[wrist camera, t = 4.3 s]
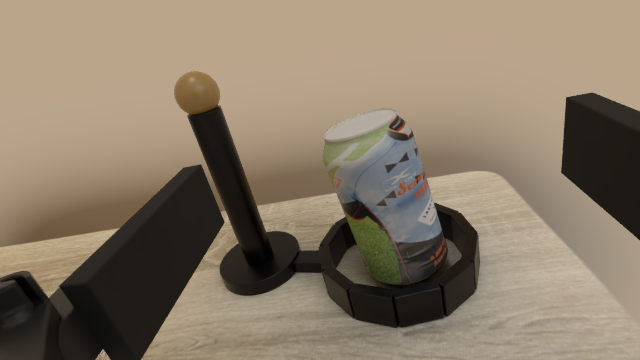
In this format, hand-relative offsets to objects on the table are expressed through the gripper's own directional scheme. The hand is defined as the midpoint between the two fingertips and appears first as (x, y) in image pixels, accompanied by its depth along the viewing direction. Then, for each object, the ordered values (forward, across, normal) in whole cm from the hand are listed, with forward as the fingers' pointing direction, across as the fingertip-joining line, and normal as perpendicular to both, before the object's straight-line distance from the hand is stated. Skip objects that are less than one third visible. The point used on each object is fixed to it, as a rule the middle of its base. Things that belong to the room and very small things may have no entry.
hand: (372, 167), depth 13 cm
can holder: (+10, -4, -13) cm, 17 cm away
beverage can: (+10, 0, -13) cm, 16 cm away
